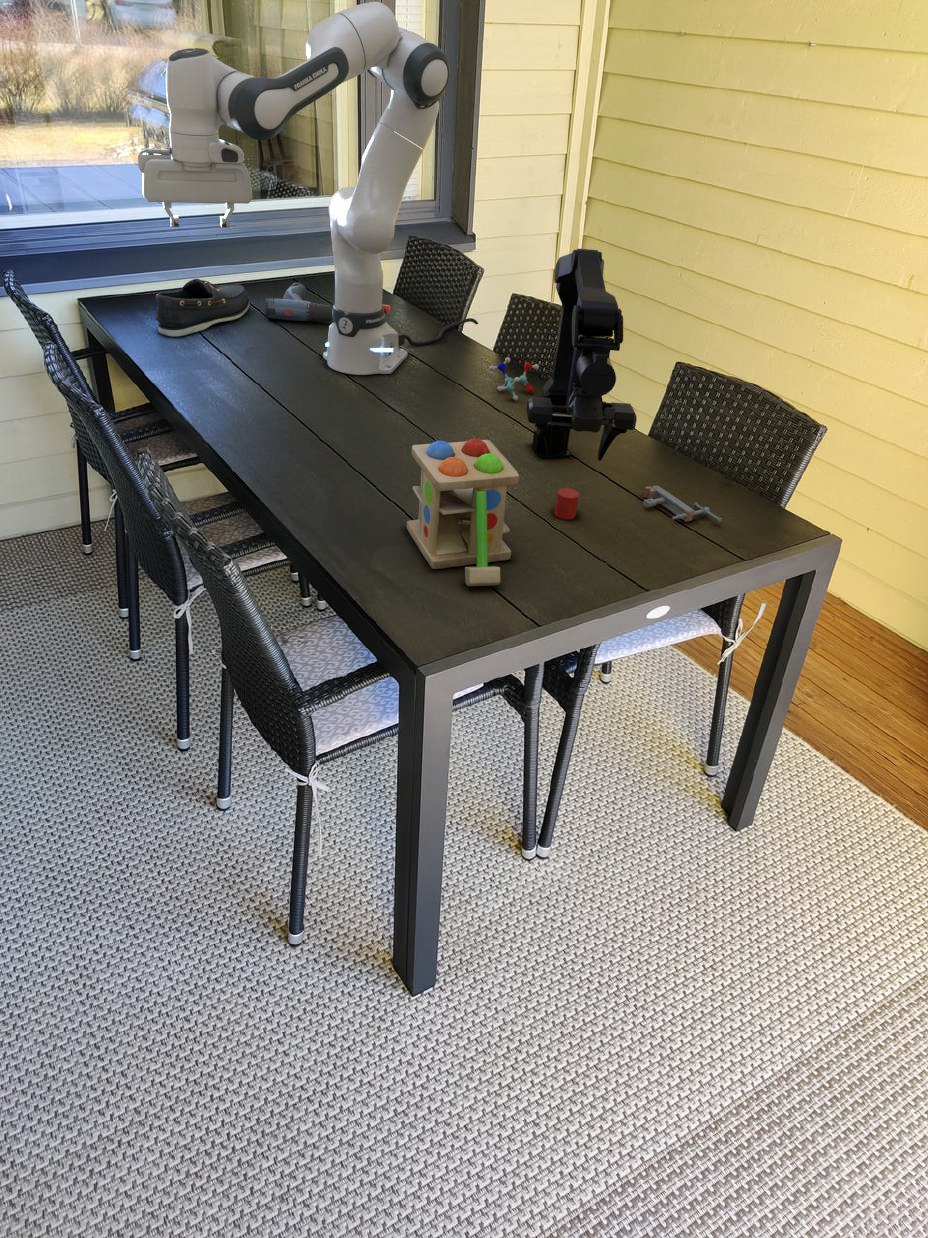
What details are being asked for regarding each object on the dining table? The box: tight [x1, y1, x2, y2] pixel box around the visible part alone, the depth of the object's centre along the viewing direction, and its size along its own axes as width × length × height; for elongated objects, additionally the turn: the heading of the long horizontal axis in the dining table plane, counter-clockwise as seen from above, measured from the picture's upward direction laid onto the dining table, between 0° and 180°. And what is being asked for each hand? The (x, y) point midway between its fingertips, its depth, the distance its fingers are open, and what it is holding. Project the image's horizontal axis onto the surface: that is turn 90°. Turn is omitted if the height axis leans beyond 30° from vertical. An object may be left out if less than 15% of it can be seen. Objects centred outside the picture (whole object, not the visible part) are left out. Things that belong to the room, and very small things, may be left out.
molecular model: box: [489, 356, 540, 402], centre depth 228 cm, size 12×10×10 cm
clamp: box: [643, 484, 723, 524], centre depth 186 cm, size 15×2×10 cm
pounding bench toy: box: [406, 438, 520, 587], centre depth 162 cm, size 23×14×18 cm, turn 20°
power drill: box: [264, 282, 333, 322], centre depth 265 cm, size 5×19×20 cm
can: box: [554, 487, 580, 520], centre depth 181 cm, size 4×4×4 cm
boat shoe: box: [155, 278, 250, 337], centre depth 253 cm, size 13×33×10 cm, turn 147°
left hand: (200, 226), depth 190 cm, fingers open, 8 cm apart
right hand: (573, 457), depth 176 cm, fingers open, 9 cm apart
